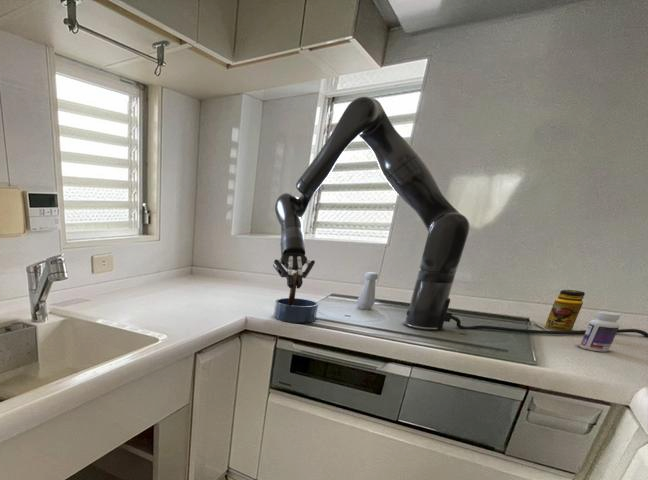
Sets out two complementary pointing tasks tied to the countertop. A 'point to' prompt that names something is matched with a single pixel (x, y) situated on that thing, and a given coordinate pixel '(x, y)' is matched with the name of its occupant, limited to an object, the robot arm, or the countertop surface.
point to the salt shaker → (368, 291)
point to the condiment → (564, 311)
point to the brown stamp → (293, 290)
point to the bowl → (296, 310)
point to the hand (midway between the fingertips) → (295, 286)
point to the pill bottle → (601, 332)
